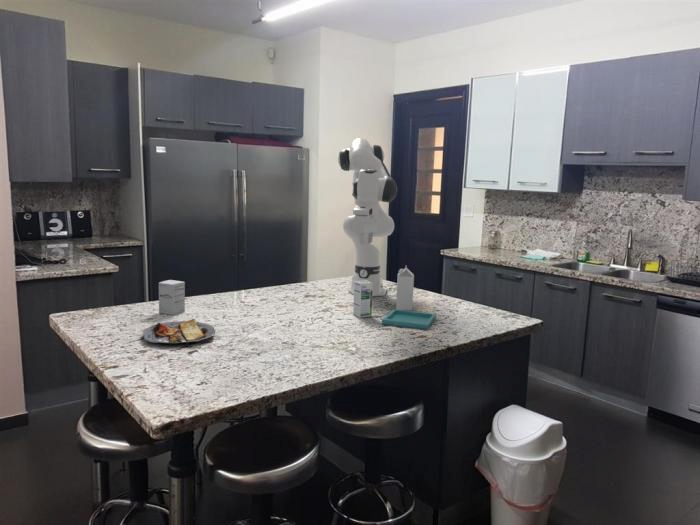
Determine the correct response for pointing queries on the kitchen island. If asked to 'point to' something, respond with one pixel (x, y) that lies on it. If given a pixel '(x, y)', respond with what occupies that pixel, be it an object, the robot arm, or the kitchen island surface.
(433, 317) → the tray
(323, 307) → the kitchen island surface
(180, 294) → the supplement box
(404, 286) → the milk carton
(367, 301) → the syrup box
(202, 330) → the food plate
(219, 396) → the kitchen island surface
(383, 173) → the robot arm
